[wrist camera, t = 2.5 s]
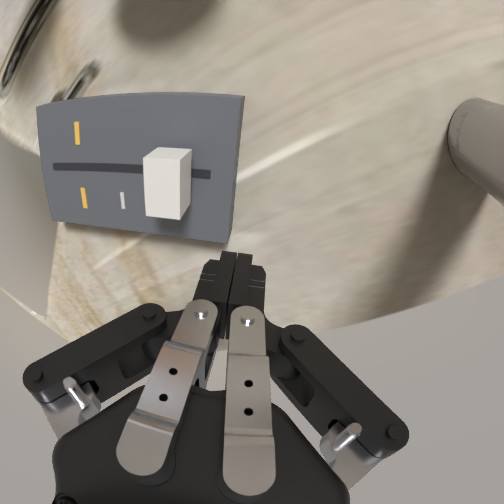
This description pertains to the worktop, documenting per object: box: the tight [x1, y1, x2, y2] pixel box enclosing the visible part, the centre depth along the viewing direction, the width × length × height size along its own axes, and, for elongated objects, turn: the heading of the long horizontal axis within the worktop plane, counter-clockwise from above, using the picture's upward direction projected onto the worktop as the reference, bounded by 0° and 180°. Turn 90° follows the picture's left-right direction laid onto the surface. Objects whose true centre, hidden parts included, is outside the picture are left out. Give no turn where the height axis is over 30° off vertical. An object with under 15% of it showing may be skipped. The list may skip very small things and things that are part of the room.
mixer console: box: [36, 92, 245, 244], centre depth 26 cm, size 22×14×3 cm, turn 84°
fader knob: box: [143, 147, 192, 220], centre depth 23 cm, size 3×5×4 cm, turn 174°
